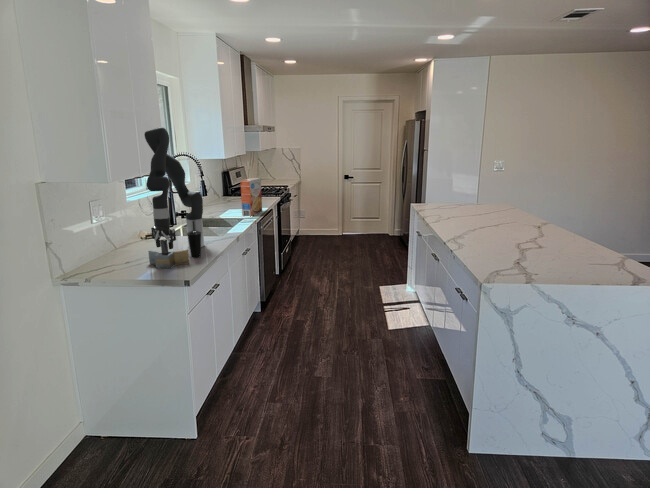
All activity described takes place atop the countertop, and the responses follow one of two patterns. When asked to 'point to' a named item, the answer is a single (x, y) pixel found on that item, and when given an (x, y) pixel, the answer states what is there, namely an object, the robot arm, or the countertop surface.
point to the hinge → (168, 258)
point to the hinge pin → (164, 247)
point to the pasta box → (251, 196)
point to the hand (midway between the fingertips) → (164, 248)
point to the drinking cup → (195, 242)
